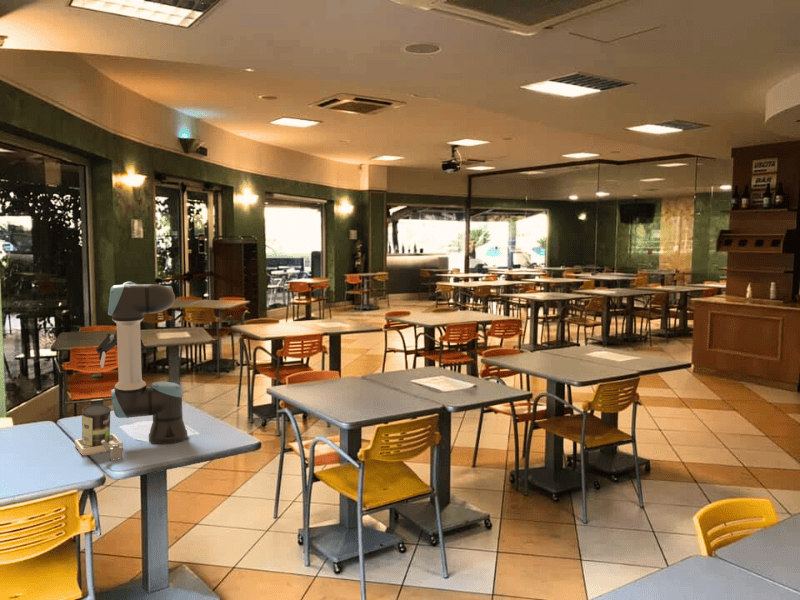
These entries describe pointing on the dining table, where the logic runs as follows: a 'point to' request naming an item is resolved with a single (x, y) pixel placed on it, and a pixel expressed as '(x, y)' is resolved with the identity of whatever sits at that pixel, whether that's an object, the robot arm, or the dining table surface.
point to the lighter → (113, 450)
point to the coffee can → (95, 425)
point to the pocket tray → (97, 449)
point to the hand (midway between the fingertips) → (118, 365)
